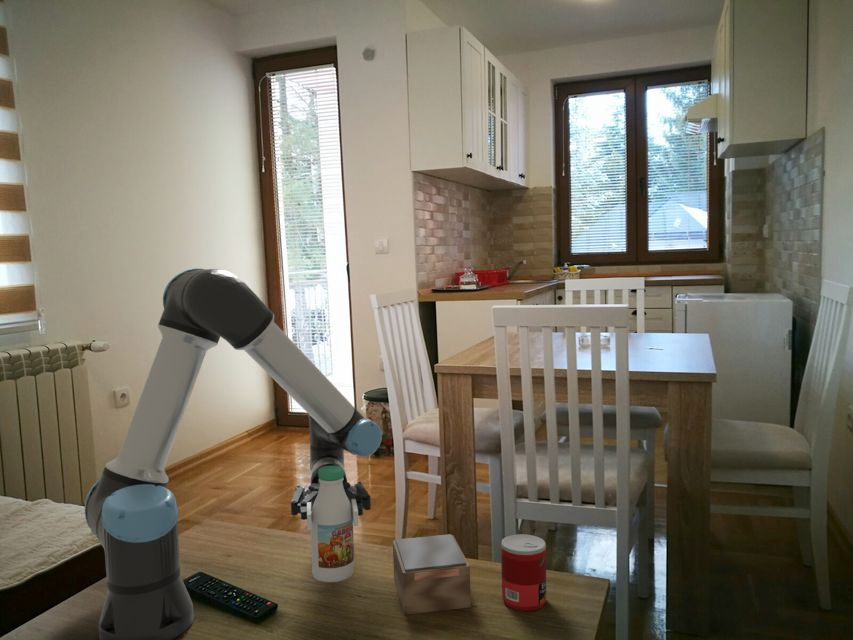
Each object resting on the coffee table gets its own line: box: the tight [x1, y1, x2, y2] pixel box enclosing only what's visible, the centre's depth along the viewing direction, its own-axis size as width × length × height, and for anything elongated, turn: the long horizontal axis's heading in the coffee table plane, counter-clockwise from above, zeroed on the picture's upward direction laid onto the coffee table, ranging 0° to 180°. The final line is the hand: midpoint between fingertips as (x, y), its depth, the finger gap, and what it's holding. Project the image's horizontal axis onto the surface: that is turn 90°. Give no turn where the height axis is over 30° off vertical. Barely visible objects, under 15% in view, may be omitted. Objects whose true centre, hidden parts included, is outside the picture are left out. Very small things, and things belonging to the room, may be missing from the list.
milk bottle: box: [310, 466, 355, 583], centre depth 123 cm, size 8×8×20 cm
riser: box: [392, 533, 472, 616], centre depth 125 cm, size 12×14×8 cm
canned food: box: [500, 533, 547, 612], centre depth 121 cm, size 8×8×11 cm
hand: (332, 520), depth 118 cm, fingers closed on milk bottle, 7 cm apart
